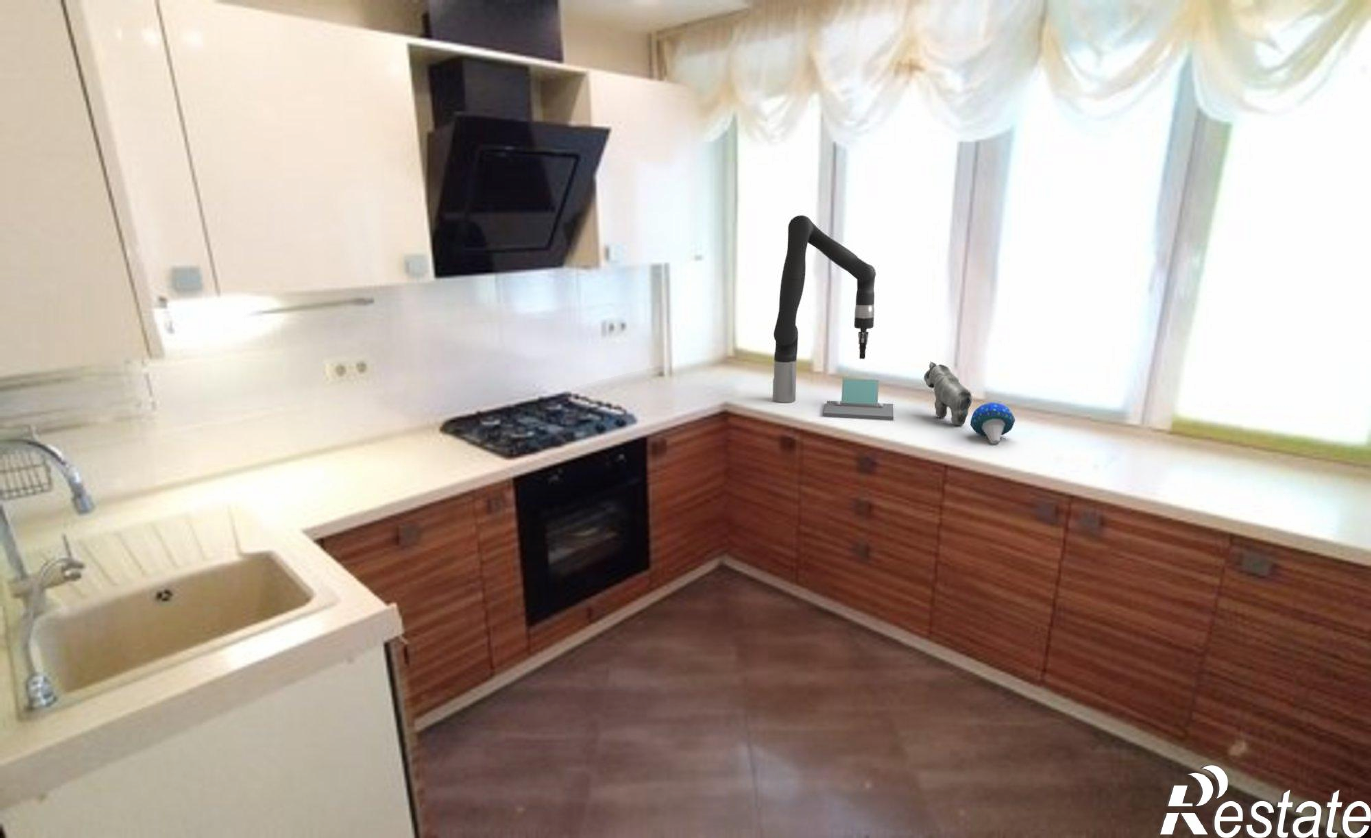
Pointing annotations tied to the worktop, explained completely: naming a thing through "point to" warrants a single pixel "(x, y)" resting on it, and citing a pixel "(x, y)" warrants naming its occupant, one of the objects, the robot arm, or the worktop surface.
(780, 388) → the robot arm
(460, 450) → the worktop surface
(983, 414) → the mushroom
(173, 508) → the worktop surface
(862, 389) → the tile
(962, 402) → the grey animal figure
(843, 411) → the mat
